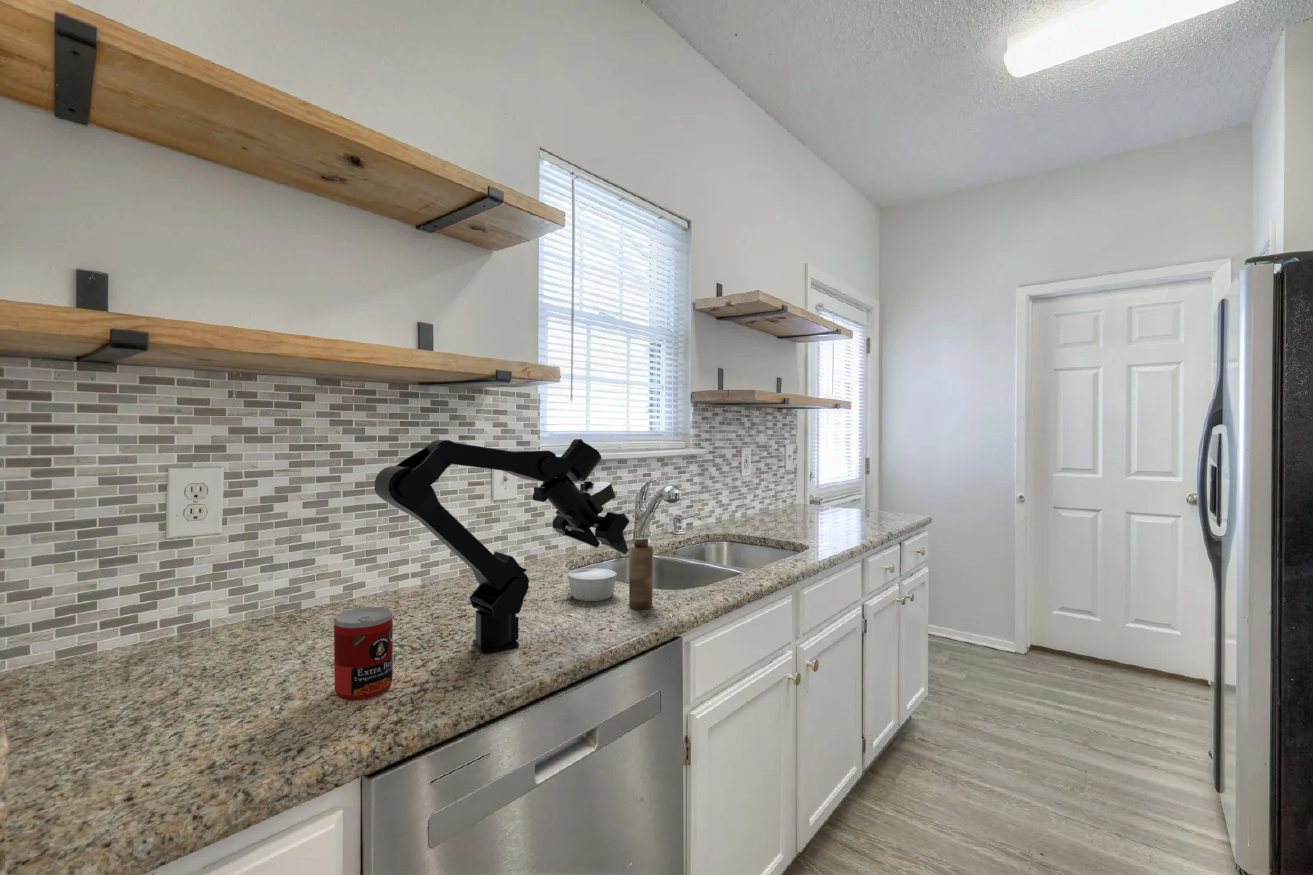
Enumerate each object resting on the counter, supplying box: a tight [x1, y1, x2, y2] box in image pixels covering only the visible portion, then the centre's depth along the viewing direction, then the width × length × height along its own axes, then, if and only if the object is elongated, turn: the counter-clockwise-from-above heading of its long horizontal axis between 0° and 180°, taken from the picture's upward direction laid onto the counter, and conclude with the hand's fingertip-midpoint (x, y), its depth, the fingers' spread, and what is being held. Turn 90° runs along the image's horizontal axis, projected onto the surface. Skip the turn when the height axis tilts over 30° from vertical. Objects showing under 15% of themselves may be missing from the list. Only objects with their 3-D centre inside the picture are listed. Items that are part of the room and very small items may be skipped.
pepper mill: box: [628, 537, 654, 611], centre depth 129 cm, size 5×5×15 cm
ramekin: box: [567, 568, 618, 602], centre depth 138 cm, size 11×11×5 cm
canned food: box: [333, 606, 394, 701], centre depth 88 cm, size 8×8×11 cm
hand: (611, 548), depth 124 cm, fingers open, 9 cm apart
